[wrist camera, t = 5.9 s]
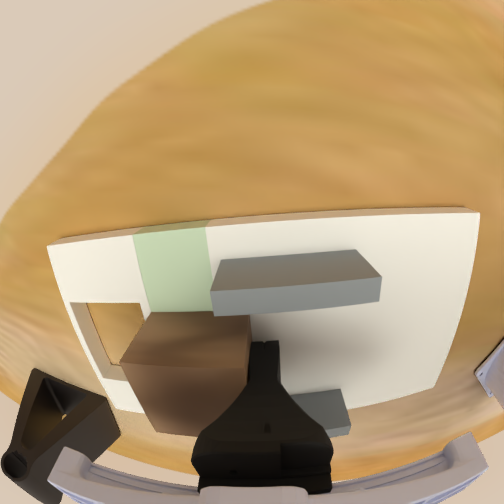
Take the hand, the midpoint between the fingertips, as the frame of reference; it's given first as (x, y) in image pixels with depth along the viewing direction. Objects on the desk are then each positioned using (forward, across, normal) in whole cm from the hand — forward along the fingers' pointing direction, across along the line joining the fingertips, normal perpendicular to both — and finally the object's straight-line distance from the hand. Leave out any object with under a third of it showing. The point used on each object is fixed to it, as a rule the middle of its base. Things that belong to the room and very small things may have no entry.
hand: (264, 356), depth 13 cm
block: (+1, +3, 0) cm, 3 cm away
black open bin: (+2, +18, +9) cm, 21 cm away
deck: (+2, 0, 0) cm, 2 cm away
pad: (+2, +4, 0) cm, 4 cm away
